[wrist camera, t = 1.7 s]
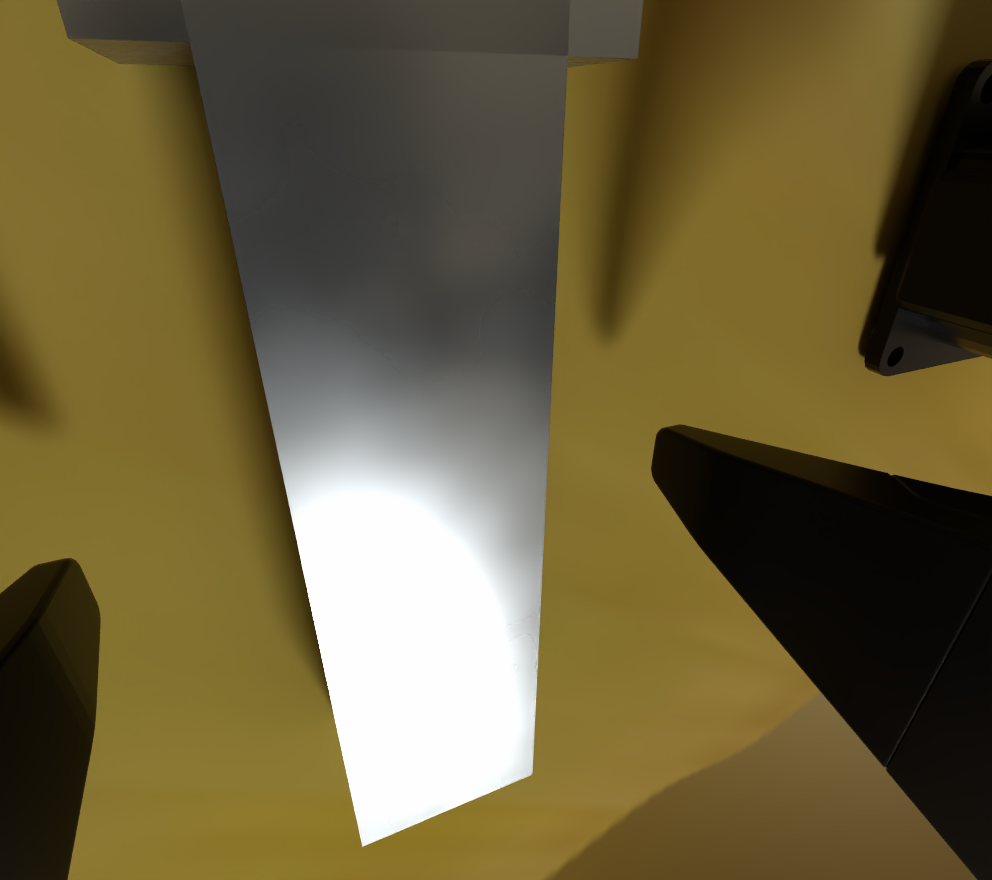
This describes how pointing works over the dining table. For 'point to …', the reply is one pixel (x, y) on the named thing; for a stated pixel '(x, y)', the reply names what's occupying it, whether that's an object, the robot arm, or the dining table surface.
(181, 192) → the dining table surface
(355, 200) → the spanner
